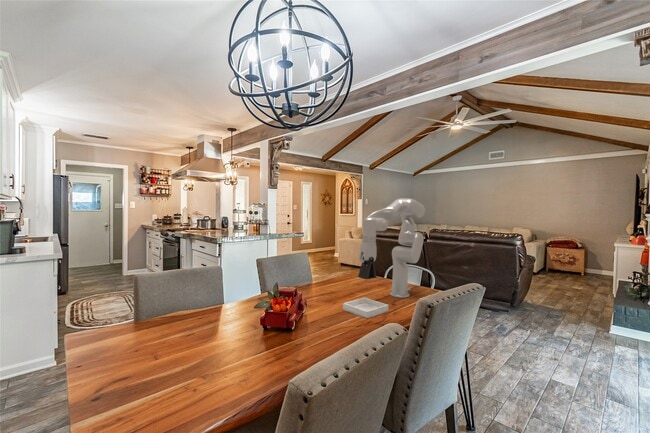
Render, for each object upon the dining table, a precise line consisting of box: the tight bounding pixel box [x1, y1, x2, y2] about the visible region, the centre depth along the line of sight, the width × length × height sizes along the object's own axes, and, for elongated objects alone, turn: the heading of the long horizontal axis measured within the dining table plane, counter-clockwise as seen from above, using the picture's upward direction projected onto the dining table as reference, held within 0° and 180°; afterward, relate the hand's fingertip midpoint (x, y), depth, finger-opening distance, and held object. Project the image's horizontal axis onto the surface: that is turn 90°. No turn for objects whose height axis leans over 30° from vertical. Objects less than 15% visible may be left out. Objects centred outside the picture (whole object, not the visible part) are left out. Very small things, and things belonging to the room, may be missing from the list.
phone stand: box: [357, 257, 377, 280], centre depth 170 cm, size 9×6×12 cm, turn 130°
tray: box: [342, 296, 390, 320], centre depth 164 cm, size 18×17×4 cm
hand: (367, 272), depth 170 cm, fingers closed on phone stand, 1 cm apart
